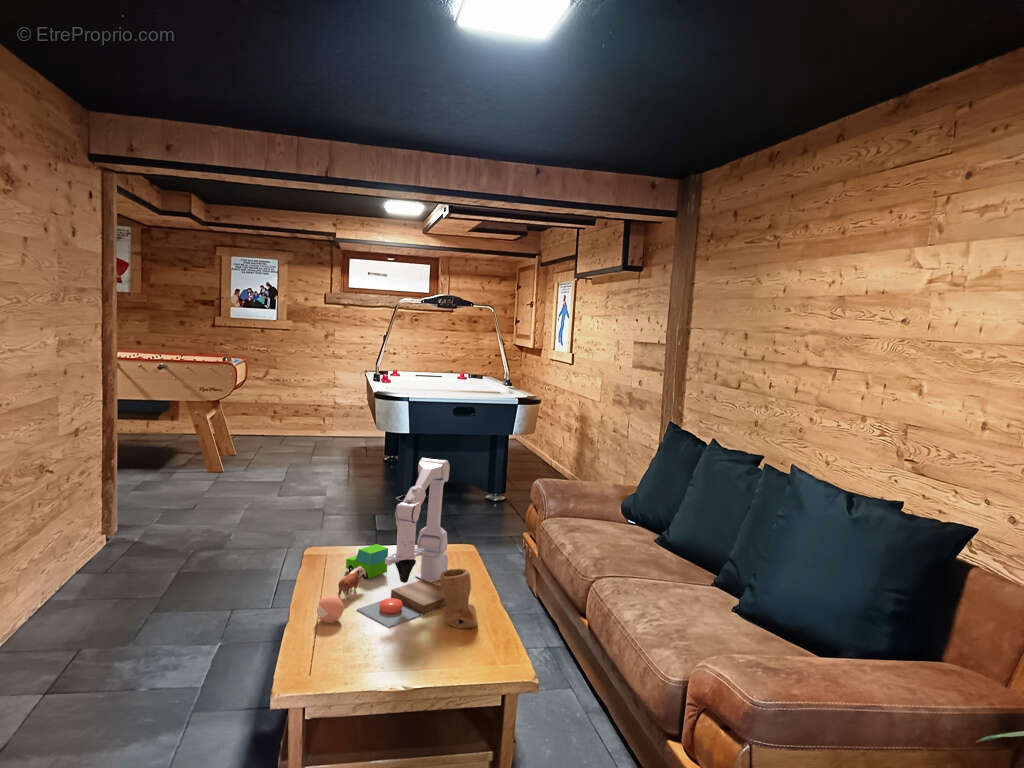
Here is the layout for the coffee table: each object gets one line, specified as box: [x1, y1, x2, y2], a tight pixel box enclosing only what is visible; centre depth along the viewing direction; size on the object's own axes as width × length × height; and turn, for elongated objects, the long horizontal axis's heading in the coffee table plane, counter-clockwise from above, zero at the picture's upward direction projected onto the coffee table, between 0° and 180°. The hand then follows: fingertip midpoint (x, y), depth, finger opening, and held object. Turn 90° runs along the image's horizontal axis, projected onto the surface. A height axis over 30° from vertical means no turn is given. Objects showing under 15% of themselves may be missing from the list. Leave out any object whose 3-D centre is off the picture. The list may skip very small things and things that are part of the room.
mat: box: [356, 600, 423, 629], centre depth 202 cm, size 13×16×1 cm
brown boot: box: [439, 568, 478, 629], centre depth 200 cm, size 15×12×15 cm
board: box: [390, 579, 447, 616], centre depth 213 cm, size 14×16×3 cm
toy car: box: [345, 543, 389, 580], centre depth 232 cm, size 10×13×10 cm
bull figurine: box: [337, 566, 366, 600], centre depth 213 cm, size 4×13×8 cm, turn 161°
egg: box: [316, 594, 344, 624], centre depth 193 cm, size 8×8×8 cm
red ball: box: [380, 597, 402, 615], centre depth 203 cm, size 7×7×2 cm
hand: (403, 581), depth 206 cm, fingers closed
